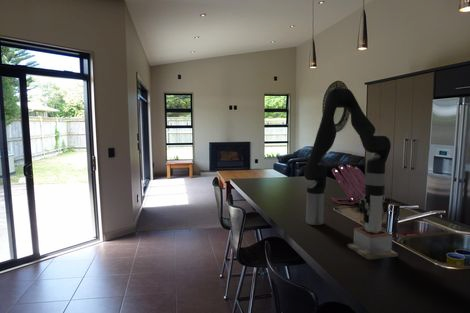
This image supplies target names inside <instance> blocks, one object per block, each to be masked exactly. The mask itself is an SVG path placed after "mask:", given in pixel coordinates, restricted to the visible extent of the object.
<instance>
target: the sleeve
mask: <svg viewBox="0 0 470 313" xmlns="http://www.w3.org/2000/svg"><path fill="white" fill-rule="evenodd" d="M364 229H365V226H362V227H361V226H360V227H353V243H354V244H353V245H354V246H356V247H357V248H359V249H361V250H362V251H364V252H366V253H367V254H369V255H371V254H380V253H389V252H391V250H392V245H393V244H392V243H393V233H390V232H389V231H386V230H385V229H382V228H381V234H373V235H370V234H369V233H367V232H365V231H364Z"/></svg>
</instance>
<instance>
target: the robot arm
mask: <svg viewBox="0 0 470 313" xmlns="http://www.w3.org/2000/svg"><path fill="white" fill-rule="evenodd" d="M338 108H339V109H342V108H344V109H346V111H348V112H349V114H350V123H351V126H352V128H353V129H354V130H355V132H356V133H357V135H358V136H359V138H360V142H361V144H362V148H363V149H364V150H365V151H367V153H371V154H374V155H373V157H371V158H369V159H367V161H366V174H365V177H366V180H365V192H364V193H365V194H366V195H365V196H364V198H363V199H360V198H358V199H359V200H358V199H357V200H358V208H359V213H361V214H363V222H364V224H365V223H369V210H371V206H370V207H367V203H368V204H369V203H370V197H369V196H370V195H372V196H383V208H382V221H383V218H384V217H383V215H384V213H387V212H388V210H389V205H390V200H391V199H390V198H389V197H386V196H384V195H385V187H386V163H387V160H388V157H389V156H390V155H389V154H390V151H391V148H392V145H391V143H392V142H391V140H390V138H389V137H387V135H374V134H376V128H375V126H374V125H373V123H372V122H371V121H370V119H369V117H367V116H366V115H365V113H364V111H363V110H362V108H361V106H360V104H359V102H358V101H357V98H356V97H355V95H354V93H353V92H352V90H350V89H349V88H347V87H346V88H344V87H332V88H331V89H330V90H328V92H327V95H326V99H325V103H324V108H323V112H322V116H321V120H320V123H319V127H318V130H317V131H316V137H315V140H314V142H313V146H312V149H311V152H310V155H309V157H308V159H307V162H306V163H305V166H304V170H303V175H304V177H305V179H306V180H308V181H313V183H311V184H310V185H308V186H307V187H306V203H305V222H306V224H308V225H310V226H311V225H313V226H321V225H323V224H324V210H325V209H324V208H325V207H324V205H325V189H326V185H327V176H328V175H327V174H328V172H327V166H326V165H325V164H324V163H322V162H320V161H321V159H322V158H323V157H324V156H325V155H326V154H327V153H328V151H330V150H331V148H332V147H333V145H334V143H335V140H336V137H337V127H336V124H335V118H334V117H335V114H336V111H337V109H338ZM367 209H368V210H367Z"/></svg>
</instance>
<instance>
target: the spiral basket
mask: <svg viewBox="0 0 470 313" xmlns="http://www.w3.org/2000/svg"><path fill="white" fill-rule="evenodd" d="M338 169H339V170H338ZM338 169H337V168H335V167H334V168H332V169H331V172H332V175H334V178H335V179H336V181H337V182H338V184H339V186H340V187H341V188H342V190H343V191H344V192H345V194H346V196H345V197H342V198H336V197H333V196H330V198H331V200H332V201H333V202H335V203H338V204H340V205H345V204H349V205H354V204H355V203H356V204H359V202H358V200H359V199H364V198H365V196H366V194H365V180H366V174H364V173H363V171H362V170H361V169H360V168H358V166H354V167H353V166H352V165H351V164H346V166H344V165H343V164H340V165H338ZM339 171H340V172H339ZM363 192H364V193H363ZM357 197H358V198H357ZM338 200H343V201H347V200H350V201H351V202H342V201H338ZM352 201H354V202H352Z"/></svg>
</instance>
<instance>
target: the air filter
mask: <svg viewBox="0 0 470 313" xmlns="http://www.w3.org/2000/svg"><path fill="white" fill-rule="evenodd" d="M369 197H370V203H369V204H368V203H367V207H370V206H371V210H369V223H365V222H364V227H365V229H364V231H365V232H367V233H369V234H370V235H373V234H381V229H382V226H383V225H382V221H383V220H382V208H383V197H384V195H383V196H372V195H370V196H369ZM367 210H368V209H367Z"/></svg>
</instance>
